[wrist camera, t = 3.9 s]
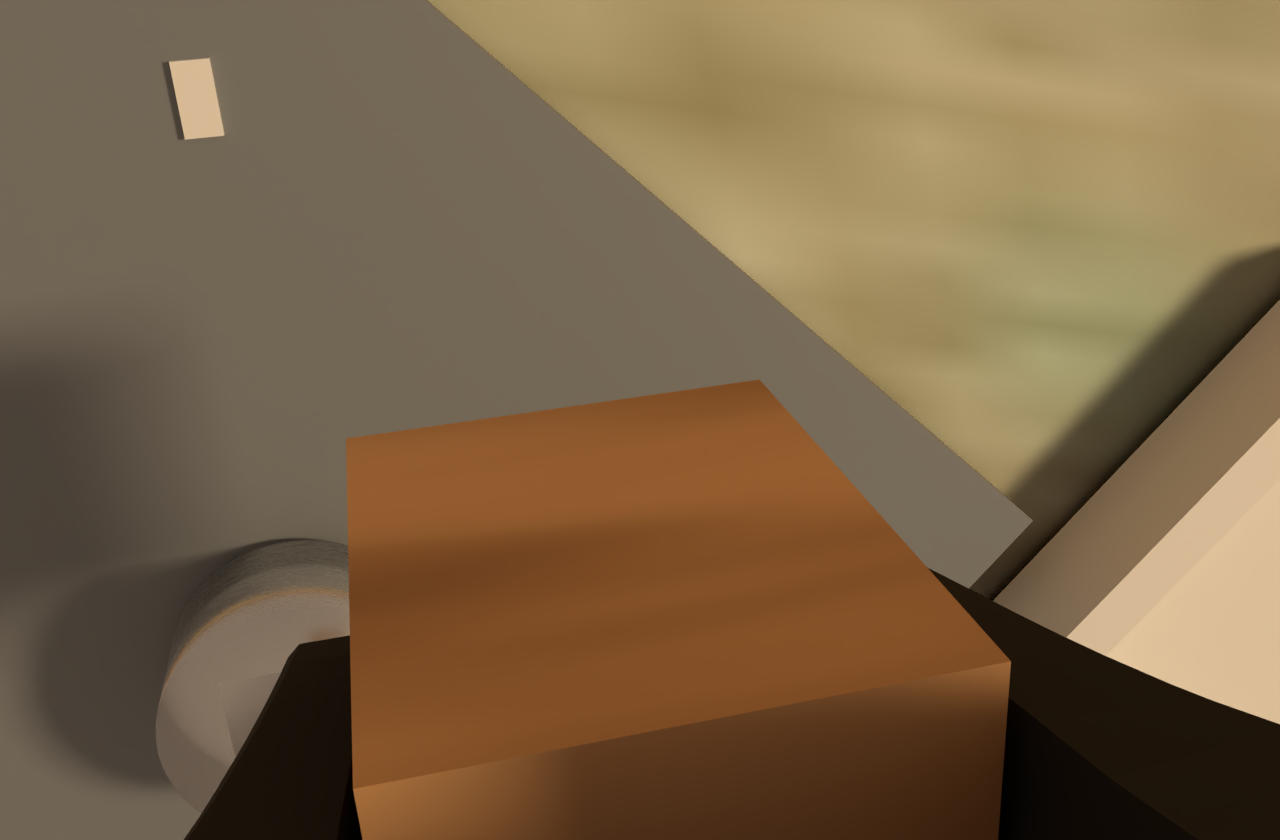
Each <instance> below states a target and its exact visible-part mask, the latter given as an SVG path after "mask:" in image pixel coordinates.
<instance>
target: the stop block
mask: <svg viewBox="0 0 1280 840" xmlns="http://www.w3.org/2000/svg"><path fill="white" fill-rule="evenodd" d="M346 464H347V515H348V565H349V616H350V666H351V716H352V767H353V792H354V797H355V802H356V808H357V813H358V818H359V823H360V828H361V834H362V839H363V840H998V832H999V819H1000V805H1001V792H1002V778H1003V764H1004V751H1005V737H1006V723H1007V710H1008V696H1009V682H1010V669H1011V661H1010V660H1009V659H1008V657H1007V656H1006V655H1005V654H1004V653H1003V652H1002V651H1001V650H1000V648H999V647H998V646H997V645H996V644H995V643H994V642H993V641H992V639H991V638H990V637H989V636H988V635H987V634H986V633H985V632H984V631H983V629H982V628H981V627H980V626H979V625H978V624H977V623H976V622H975V620H974V619H973V618H972V617H971V616H970V615H969V614H968V613H967V611H966V610H965V609H964V608H963V607H962V606H961V605H960V604H959V603H958V601H957V600H956V599H955V598H954V597H953V596H952V595H951V594H950V592H949V591H948V590H947V589H946V588H945V587H944V586H943V585H942V583H941V582H940V581H939V580H938V579H937V578H936V577H935V576H934V575H933V573H932V572H931V571H930V570H929V569H928V568H927V567H926V566H925V564H924V563H923V562H922V561H921V560H920V559H919V558H918V557H917V555H916V554H915V553H914V552H913V551H912V550H911V549H910V548H909V546H908V545H907V544H906V543H905V542H904V541H903V540H902V539H901V538H900V536H899V535H898V534H897V533H896V532H895V531H894V530H893V529H892V527H891V526H890V525H889V524H888V523H887V522H886V521H885V520H884V518H883V517H882V516H881V515H880V514H879V513H878V512H877V511H876V510H875V508H874V507H873V506H872V505H871V504H870V503H869V502H868V501H867V499H866V498H865V497H864V496H863V495H862V494H861V493H860V492H859V490H858V489H857V488H856V487H855V486H854V485H853V484H852V483H851V482H850V480H849V479H848V478H847V477H846V476H845V475H844V474H843V473H842V471H841V470H840V469H839V468H838V467H837V466H836V465H835V464H834V462H833V461H832V460H831V459H830V458H829V457H828V456H827V455H826V454H825V452H824V451H823V450H822V449H821V448H820V447H819V446H818V445H817V443H816V442H815V441H814V440H813V439H812V438H811V437H810V436H809V434H808V433H807V432H806V431H805V430H804V429H803V428H802V427H801V426H800V424H799V423H798V422H797V421H796V420H795V419H794V418H793V417H792V415H791V414H790V413H789V412H788V411H787V410H786V409H785V408H784V406H783V405H782V404H781V403H780V402H779V401H778V400H777V399H776V397H775V396H774V395H773V394H772V393H771V392H770V391H769V390H768V389H767V387H766V386H765V385H764V384H763V383H762V382H761V381H760V380H752V381H745V382H738V383H731V384H724V385H717V386H710V387H703V388H696V389H689V390H682V391H675V392H668V393H661V394H654V395H647V396H640V397H633V398H626V399H619V400H612V401H605V402H598V403H591V404H584V405H577V406H570V407H563V408H556V409H549V410H542V411H535V412H528V413H521V414H514V415H507V416H500V417H493V418H486V419H479V420H472V421H465V422H458V423H451V424H444V425H437V426H430V427H423V428H416V429H409V430H402V431H395V432H388V433H381V434H374V435H367V436H360V437H353V438H346Z"/></svg>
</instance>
